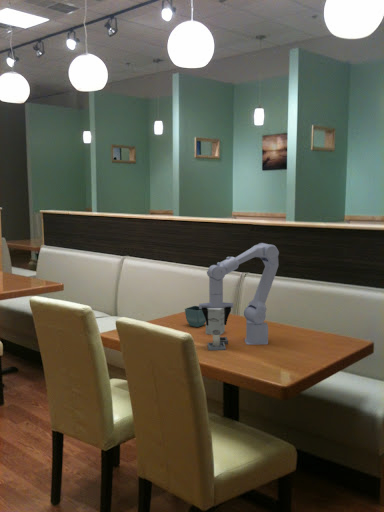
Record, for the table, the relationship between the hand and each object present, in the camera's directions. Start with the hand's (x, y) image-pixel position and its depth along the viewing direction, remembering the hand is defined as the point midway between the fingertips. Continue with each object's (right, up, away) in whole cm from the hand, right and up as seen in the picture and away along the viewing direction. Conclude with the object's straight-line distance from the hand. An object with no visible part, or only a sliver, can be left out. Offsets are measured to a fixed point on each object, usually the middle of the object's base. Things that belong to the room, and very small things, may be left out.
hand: (216, 324), depth 228 cm
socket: (+2, -9, +7) cm, 12 cm away
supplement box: (+1, -7, +23) cm, 24 cm away
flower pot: (-8, -6, +37) cm, 39 cm away
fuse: (0, -10, -1) cm, 9 cm away
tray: (0, -10, -1) cm, 10 cm away
